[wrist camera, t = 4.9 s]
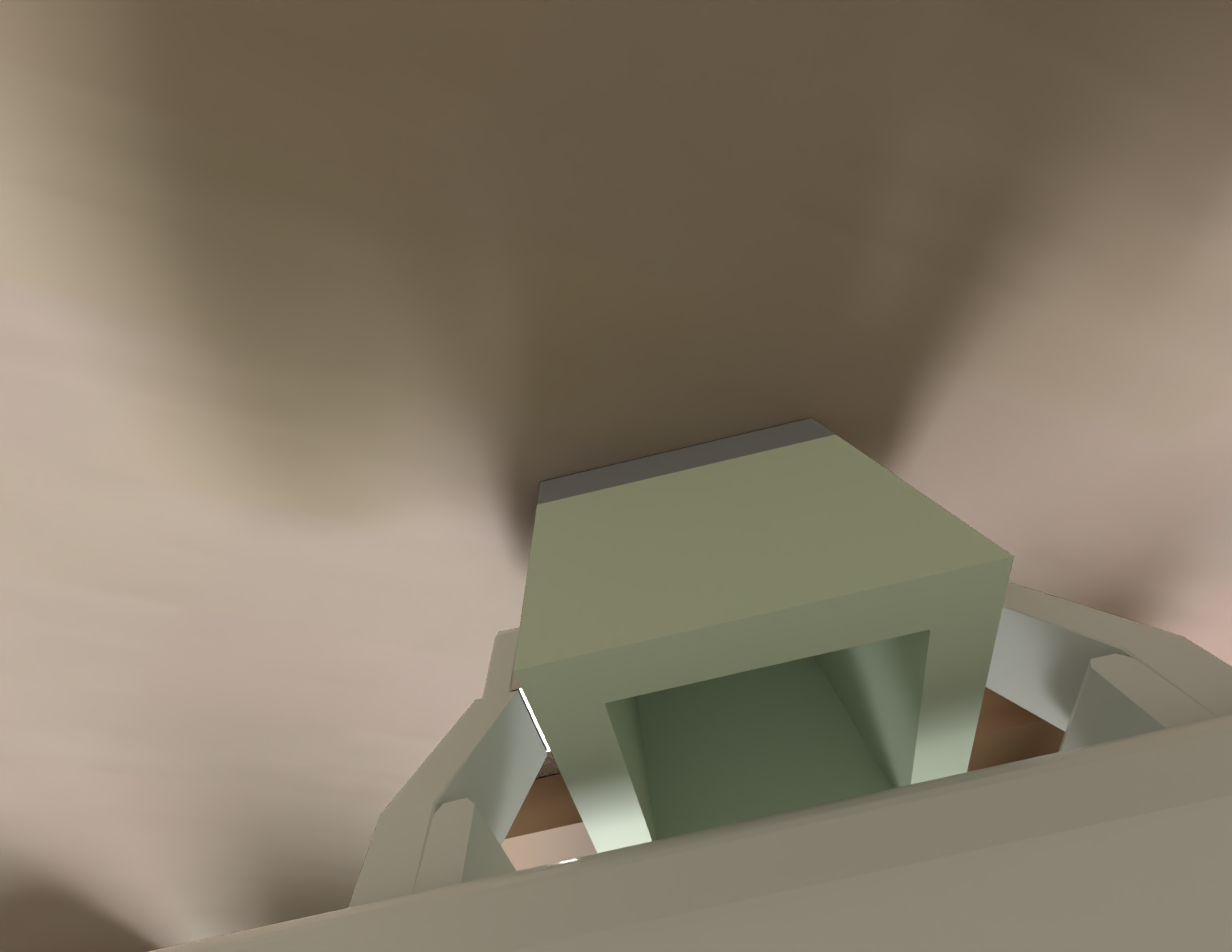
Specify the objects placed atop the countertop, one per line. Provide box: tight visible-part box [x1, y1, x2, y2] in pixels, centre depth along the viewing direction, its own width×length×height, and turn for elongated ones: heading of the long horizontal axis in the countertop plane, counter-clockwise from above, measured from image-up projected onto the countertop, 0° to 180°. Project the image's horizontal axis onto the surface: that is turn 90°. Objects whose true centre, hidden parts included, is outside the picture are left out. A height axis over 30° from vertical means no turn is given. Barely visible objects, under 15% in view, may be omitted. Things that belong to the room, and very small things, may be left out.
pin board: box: [501, 687, 1065, 871], centre depth 14 cm, size 20×12×6 cm, turn 102°
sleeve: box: [514, 418, 1014, 853], centre depth 9 cm, size 6×6×5 cm
